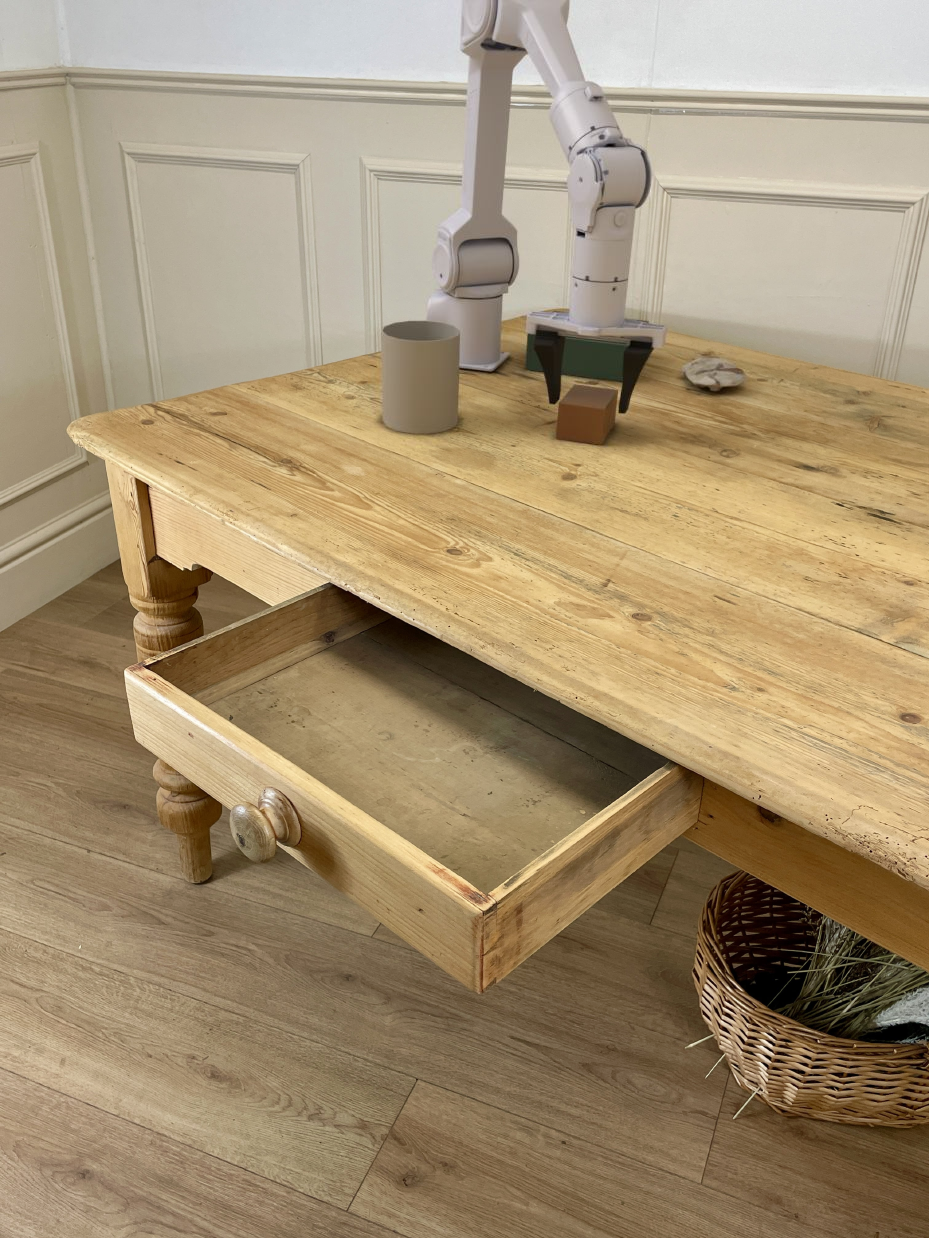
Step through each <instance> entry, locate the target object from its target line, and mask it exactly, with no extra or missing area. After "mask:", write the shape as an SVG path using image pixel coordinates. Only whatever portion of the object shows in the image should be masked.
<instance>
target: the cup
mask: <svg viewBox="0 0 929 1238" xmlns="http://www.w3.org/2000/svg"><path fill="white" fill-rule="evenodd" d="M380 341H381V342H380V345H381V347H380V348H381V349H380V350H381V352H380V353H381V402H382V403H381V405H382V406H381V407H382V411H381V413H382V422H383V424H384V425H385V426H386V427H387V428H388V429H392V430H394V431H397V432H400V433H406V434H413V435H422V434H423V435H425V434H426V435H427V434H428V435H429V434H436V433H442V432H446V431H449V430H451V429H453V428H455V427H456V426H457V424H458V422H459V397H460V396H459V395H460V392H459V391H460V368H459V357H460V330H459V329H458V328H456V327H455V326H453V325H449V324H446V323H442V322H434V321H426V320H405V321H404V320H403V321H396V322H392V323H389V324H387V325H384V326H383V327H382V329H381V330H380Z"/></svg>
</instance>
